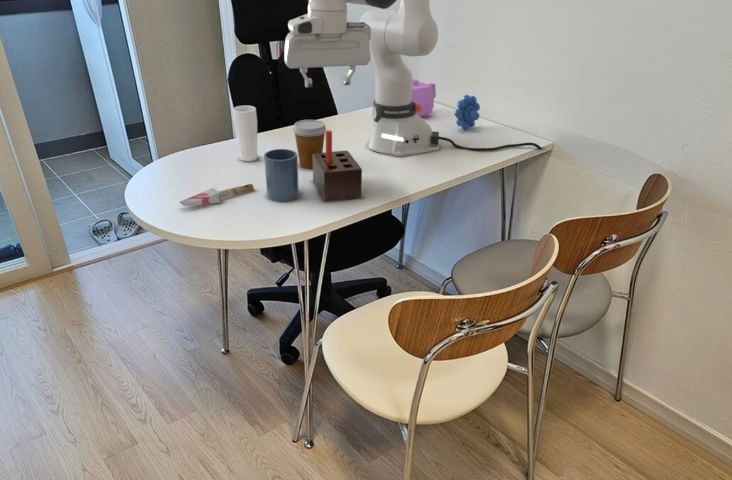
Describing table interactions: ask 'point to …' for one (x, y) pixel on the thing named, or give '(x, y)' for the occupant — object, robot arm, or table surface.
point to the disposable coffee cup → (309, 140)
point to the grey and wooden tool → (215, 195)
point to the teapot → (423, 96)
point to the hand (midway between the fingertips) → (327, 85)
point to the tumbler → (281, 174)
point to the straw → (328, 146)
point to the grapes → (467, 112)
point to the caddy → (337, 176)
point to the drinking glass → (246, 131)
